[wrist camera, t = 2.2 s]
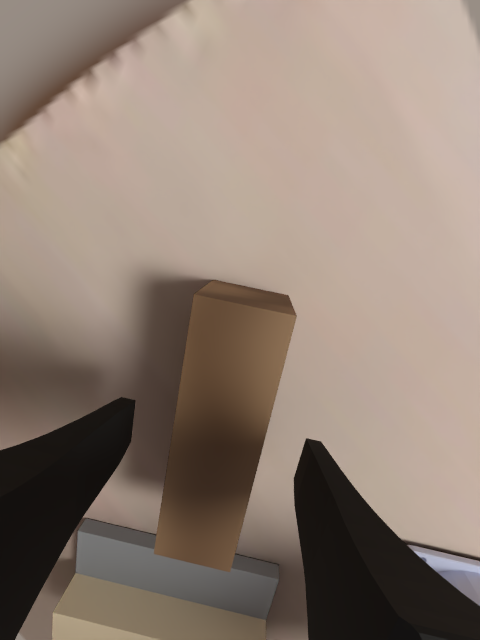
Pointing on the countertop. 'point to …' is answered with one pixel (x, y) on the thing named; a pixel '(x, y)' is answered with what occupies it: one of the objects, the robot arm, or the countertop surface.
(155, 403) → the countertop surface
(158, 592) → the board
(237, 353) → the walnut bar
